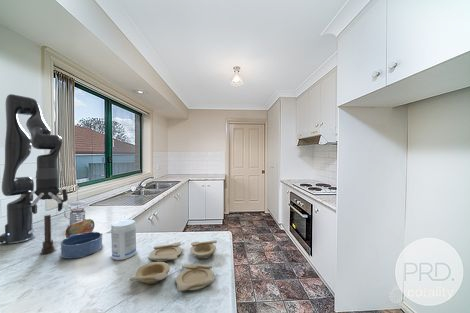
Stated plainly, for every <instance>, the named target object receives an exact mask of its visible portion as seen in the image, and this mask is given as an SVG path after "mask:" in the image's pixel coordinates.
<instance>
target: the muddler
mask: <svg viewBox="0 0 470 313" xmlns="http://www.w3.org/2000/svg"><path fill="white" fill-rule="evenodd" d="M43 218H44V219H43V222H44V227H43V228H44V230H43V232H44V241H42V247H41V249H40V250H41V255H48V254H51V253H54V252H55V245H54V239H52V216H51V214H45V215H44V216H43Z"/></svg>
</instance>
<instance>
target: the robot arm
mask: <svg viewBox="0 0 470 313" xmlns="http://www.w3.org/2000/svg"><path fill="white" fill-rule="evenodd" d="M4 105H5V121H6V122H5V124H6V126H5V138H4V139H5V140H4V141H5V142H4V165H3V166H4V167H3V172H2V180H1V193H2V195H3V196H5V197H12V196H13V197H15V196H19V197H18V198H16V199H15V200H13V201H10V202H8V203H7V204H6V224H5V225H4V233H2V234H1V235H0V244H3V243H4V244H5V245H7V244H11V245H12V244H18V243H19V244H20V243H24V242H27V241H29V240H32V239H33V238H34V232H35V229H34V221H33V220H34V219H33V217H34V215H36V214H37V213H38V203H39V202H40V201H44V200H45V201H46V200H52V199H53V200H54V201H56V203H57V212H61V211H62V210H63V208H64V203H66V202H67V201H68V199H69V198H68V189H67V187H66V188H62V189H60V188H59V169H58V160H59V156H60V155H59V154H60V151H61V149H62V147H63V139H62V137H61V136H59V135H58V134H52V131H51V129H50V127H49V126H48V124H47V123H46V121H45V119H44V117H43V114H42V110H41V108H40V105H39V103H38V101H37V100H36V99H35V98H32V97H28V96H22V95H18V94H13V93H12V94H11V93H10V94H7V96H6V98H5V104H4ZM18 115H23V116H30V117H29V118H28V119H27V120H26V123H25V125H26V129H27V130H28V131H29V133H30V136H29V134H28V133H27V132H26V131H25V129H24V128H23V127H22V125H21V124H20V122H19V117H18ZM32 147H33V148H34V149H36V150H44V151H45V150H48V153H46V154H40V155H38V156H37V157H36V171H35V182H34V179H33V177H31V176H17V177H16V175H17V172H18V170H19V168H20V166H22V164H23V163H25V161H26V160H27V159H28V158H29V156H30V155H31V153H32ZM49 150H50V151H49ZM34 194H35V196H37V197H36V198H35V199H34ZM58 194H62V198H61V197H60V196H59V195H58Z"/></svg>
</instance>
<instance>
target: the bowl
mask: <svg viewBox="0 0 470 313" xmlns="http://www.w3.org/2000/svg"><path fill="white" fill-rule="evenodd" d="M102 247H103V234H102V232H99V231H92V232H87V233H81V234H77V235H73V236H70V237H68V238H66V237H65V238H63V239H62V241H60V255H61V256H60V257H61V258H64V259H77V258H82V257H86V256H89V255H91V254H94V253H96V252H98V251H100V249H102Z"/></svg>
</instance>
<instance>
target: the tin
mask: <svg viewBox="0 0 470 313" xmlns="http://www.w3.org/2000/svg"><path fill="white" fill-rule="evenodd" d="M81 220H82V221H79V222H77V223H74V224H71V225H70V224H69V225H70V226H69V225H68V226H67V227H66V229H65V233H64V234H65V239H66V238H68V237H70V236H73V235H77V234H81V233H87V232H94V229H95V221H94V219H91V218H88V219H87V218H85V220H83V219H81Z"/></svg>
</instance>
